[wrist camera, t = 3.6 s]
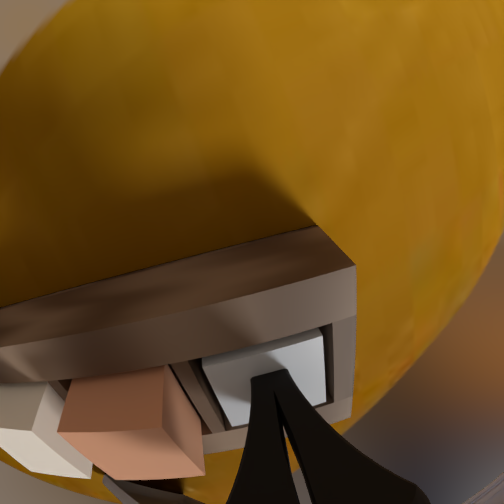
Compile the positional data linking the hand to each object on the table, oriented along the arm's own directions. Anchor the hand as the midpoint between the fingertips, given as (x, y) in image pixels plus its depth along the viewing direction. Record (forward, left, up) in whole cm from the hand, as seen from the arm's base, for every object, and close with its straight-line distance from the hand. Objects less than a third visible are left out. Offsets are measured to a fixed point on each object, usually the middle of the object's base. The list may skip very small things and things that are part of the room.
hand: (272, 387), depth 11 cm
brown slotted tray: (-6, 0, -3) cm, 7 cm away
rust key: (-6, 0, -1) cm, 6 cm away
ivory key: (-11, 0, -1) cm, 11 cm away
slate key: (0, 0, -3) cm, 3 cm away
